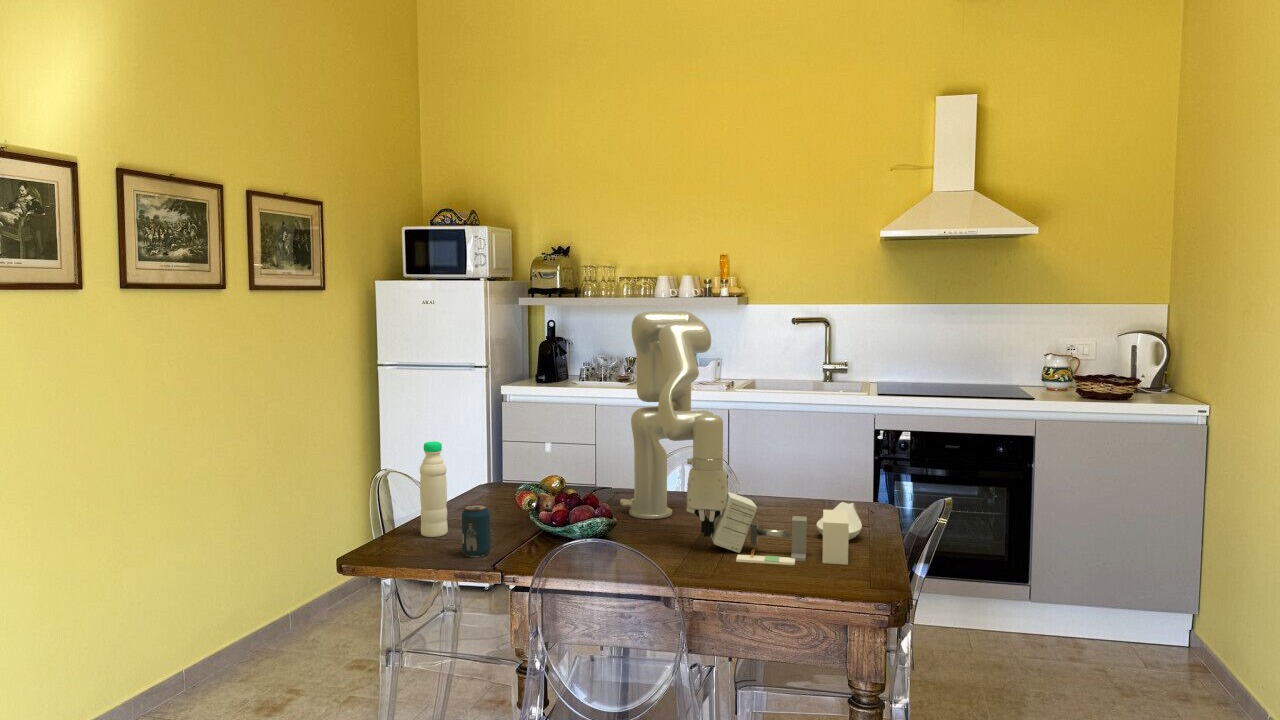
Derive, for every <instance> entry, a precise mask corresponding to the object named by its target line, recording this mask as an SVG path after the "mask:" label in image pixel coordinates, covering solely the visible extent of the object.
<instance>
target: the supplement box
mask: <svg viewBox="0 0 1280 720" xmlns="http://www.w3.org/2000/svg"><path fill="white" fill-rule="evenodd" d="M757 509H758V506H757V505H756V504H755V503H754V502H753V500H752V499H750V498H748V497H745V496H742V495H739V494H736V493H733V492H730V491H728V496H727V506H726V508H725V509H724V510H723V512H722V514H721V515H719V516H718V517H717V518H716V519H715V520H714V532H713V533H711V536H710V537H709V538H710V539H711V541H712V542H713V544H714V545H716V546H718V547H721V548H724V549H725V550H729V551H733V552H735V553H738V554H740V553H741V552H742V549H743V547H744V543H745V542H746V539H747V536H748V533H749V530H750V529H751V523H752V521H753V519H755V515H756V512H757Z"/></svg>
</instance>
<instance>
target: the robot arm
mask: <svg viewBox="0 0 1280 720" xmlns="http://www.w3.org/2000/svg"><path fill="white" fill-rule="evenodd" d="M631 337H632V342H633V345H634V349H635V353H636V354H635V355H636V394H637V398H638V399H639V400H640V401H642V402H643V403H644V402H645V403H658V405H657V406H644V407H640V408H637V409H636V410H634V412H632V415H631V419H630V425H631V432H632V437H633V449H634V452H633V453H634V455H633V456H634V464H633V465H634V468H633V469H634V477H633V478H634V497H633V498H630V499H627V498H620V501H619V504H620V506H622V507H626V508H627V507H629V508H630V509H629V510H628V512H629V513H628V514H629V516H631V517H633V518H635V519H636V518H637V519H644V520H645V519H646V520H655V519H665V518H669V517H670V516H672V515H673V509H672V508H670V507H668V455H667V452H666V449H665V448H664V447H663V445H662V444H661V443H660V440H665V439H666V440H667V439H668V440H669V441H673V442H682V441H692V457H691V458H687V461H686V462H687V465H691V466H692V467H691V468H690V469H689V471H688V478H687V487H686V488H687V489H686V490H687V491H686V512H688V513H691V514H695V516H696V517H698V518H699V520H700V529H701V530H700V532H701V533H703V537H705V538H706V537H708V538H711V537H710V536H711V533H713V532H714V523H715V521H716V518H717V517H718V516H719V515H721V514H722V512H723V510H724V509H725V508H726V506H727V496H728V492H729V489H728V488H729V487H728V478H727V477H728V476H727V472H726V469H725V468H724V467H723V466H724V421H723V418H722V417H721V416H720V415H717V414H714V413H713V412H711V411H709V410H692V385H691V384H692V383H693V382H695V381H696V380H697V379H698V378H699V375H700V370H699V367H698V363H697V361H696V360H697V359H696V356H695V354H704V353H706V352H708V351H709V349H710V348H711V346H712V336H711V332H710V329H709V327H708V326H707V325H706V322H704V321H703V320H702V319H700V318H698V317H697V316H696V315H695V314H693V313H691V312H690V311H687V310H686V311H685V310H684V311H683V310H681V311H680V310H674V311H673V310H670V311H669V310H658V311H656V310H654V311H653V310H652V311H644V312H640V313H638V314H637V315H635V316H634V318H633V320H632V323H631ZM707 511H709V517H707V513H706V512H707Z"/></svg>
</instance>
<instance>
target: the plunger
mask: <svg viewBox="0 0 1280 720" xmlns="http://www.w3.org/2000/svg"><path fill="white" fill-rule="evenodd" d="M759 523H760V522H759V519H758V518H753V521H752V523H751V526H750V545H751V546H757V545H758V541H759V536H762V537H782V538H790V537H791V530H786V529H785V530H783V529H770V528H769V529H766V528H763V529H762V528H759ZM755 551H756V549H755V548H753V549H751V552H750V555H751V556H755V555H754V554H755Z"/></svg>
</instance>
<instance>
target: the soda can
mask: <svg viewBox="0 0 1280 720" xmlns="http://www.w3.org/2000/svg"><path fill="white" fill-rule="evenodd" d="M463 508H464V509H463V511H462V513H461V545H462V546H461V548H462V549H461V550H462V552H463V555H465V556H466V555H467V556H466V557H468V556H482V555H486V554H487V555H488V554H489V553H490V551H491V547H492V546H491V541H492V540H491V512H490V511H489V508H488V505H487V504H482V503H476V504H475V503H474V504H473V503H472V504H467V505H464V507H463ZM487 555H486V556H487Z"/></svg>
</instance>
